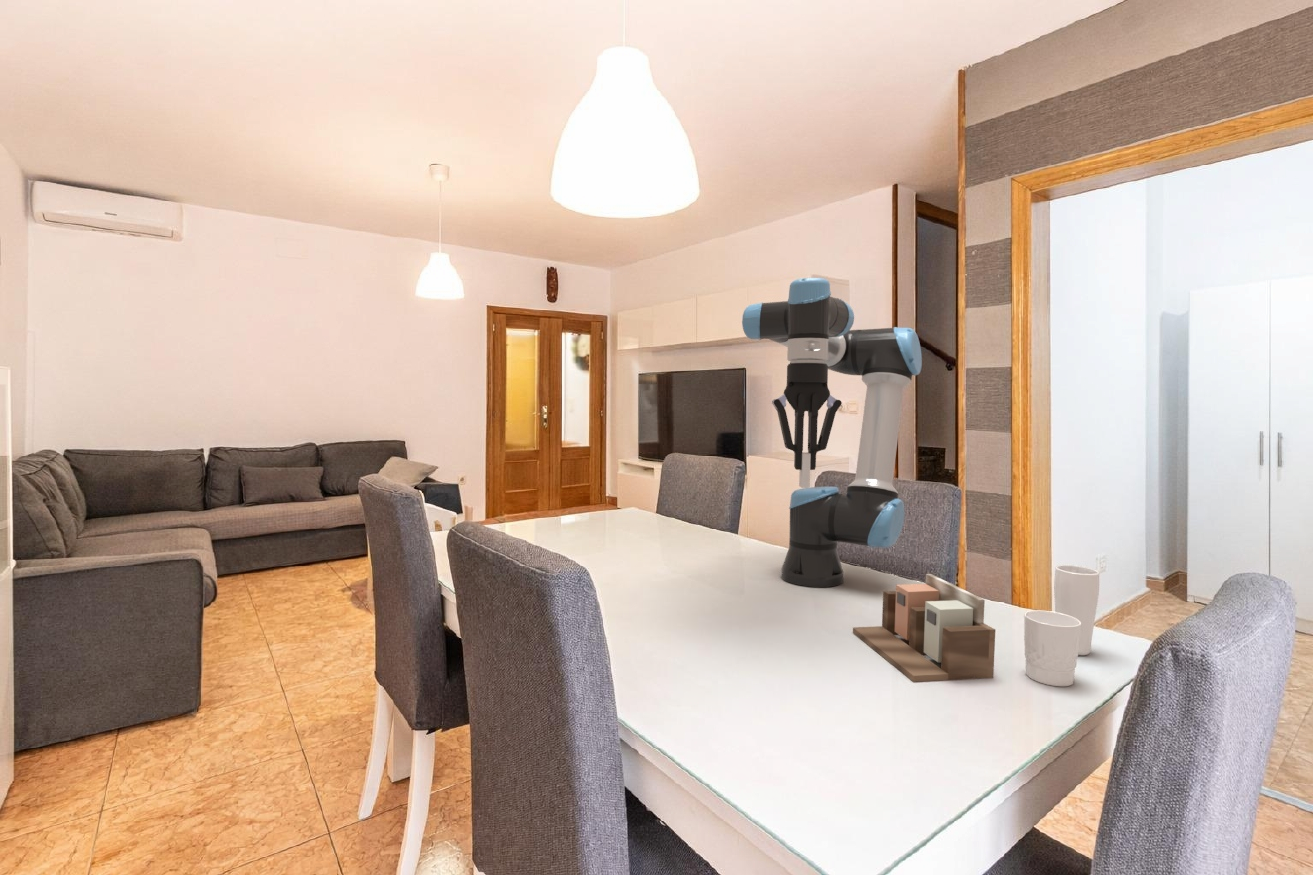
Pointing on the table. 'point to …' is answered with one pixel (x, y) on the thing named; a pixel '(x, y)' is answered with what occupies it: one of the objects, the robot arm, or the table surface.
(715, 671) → the table surface
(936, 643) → the cream rectangular block
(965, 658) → the wooden rack
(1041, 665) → the white cup
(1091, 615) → the drinking glass
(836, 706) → the table surface
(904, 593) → the peach rectangular block
